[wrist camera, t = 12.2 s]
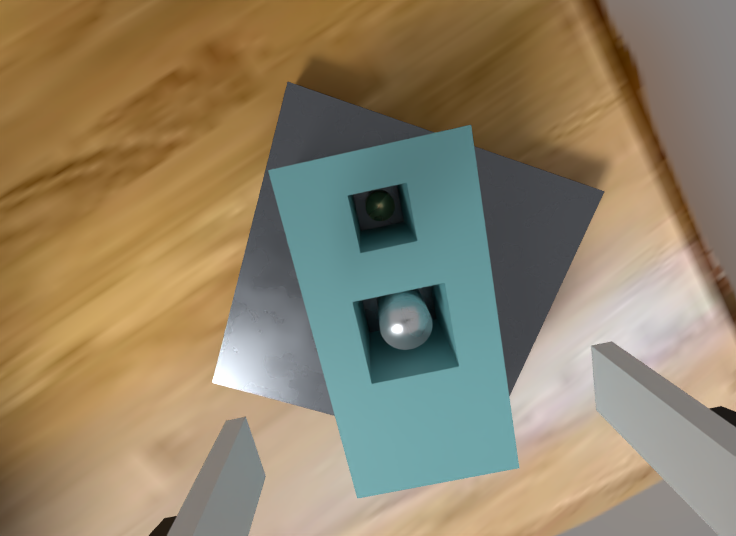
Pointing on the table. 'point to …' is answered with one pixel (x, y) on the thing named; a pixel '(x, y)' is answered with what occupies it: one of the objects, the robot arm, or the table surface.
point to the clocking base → (380, 208)
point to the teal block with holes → (392, 275)
